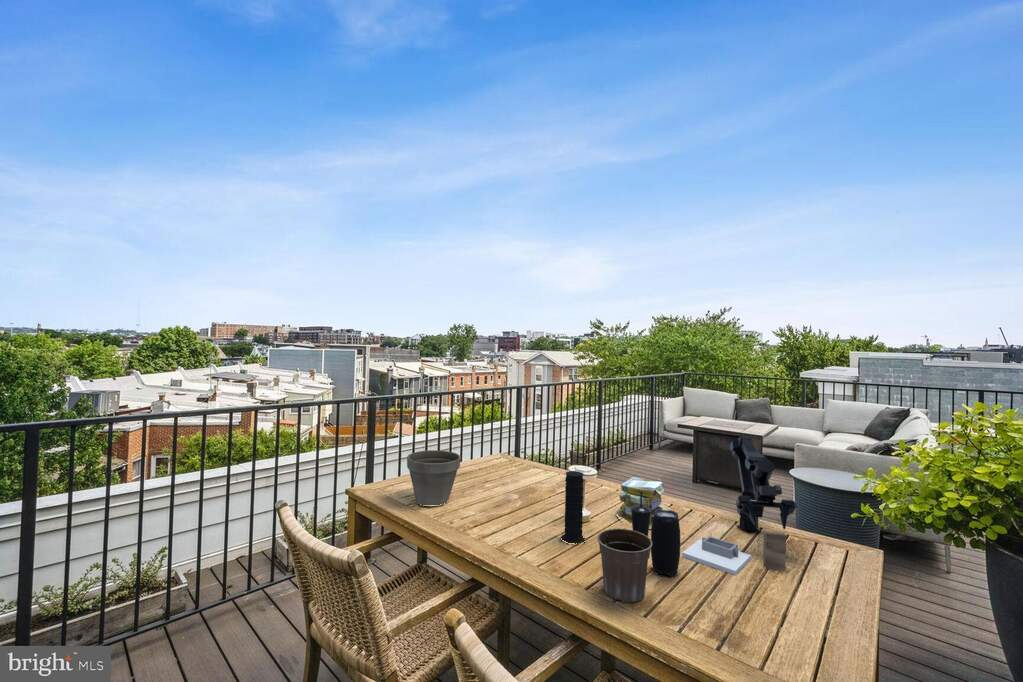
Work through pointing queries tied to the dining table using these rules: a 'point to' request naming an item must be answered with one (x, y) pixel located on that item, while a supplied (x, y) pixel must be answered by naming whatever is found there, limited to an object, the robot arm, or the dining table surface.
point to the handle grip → (573, 507)
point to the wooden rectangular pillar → (774, 550)
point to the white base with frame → (717, 554)
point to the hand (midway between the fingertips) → (770, 527)
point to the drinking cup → (641, 517)
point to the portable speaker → (665, 542)
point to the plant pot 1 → (433, 475)
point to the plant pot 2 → (624, 563)
